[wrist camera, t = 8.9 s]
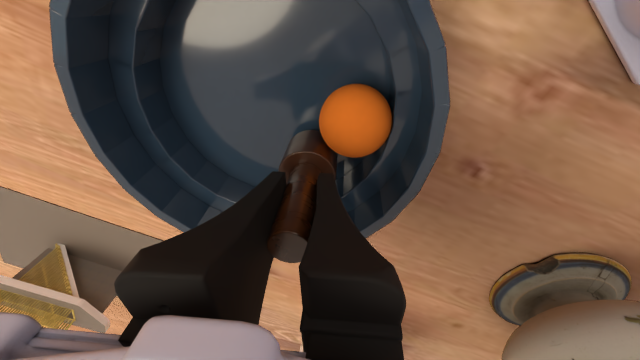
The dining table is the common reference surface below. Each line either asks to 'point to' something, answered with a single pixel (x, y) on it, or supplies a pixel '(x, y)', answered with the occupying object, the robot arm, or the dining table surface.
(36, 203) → the platform
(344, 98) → the ball
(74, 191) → the dining table surface
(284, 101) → the bowl
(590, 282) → the apothecary jar
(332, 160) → the wooden stepped peg
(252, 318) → the robot arm
